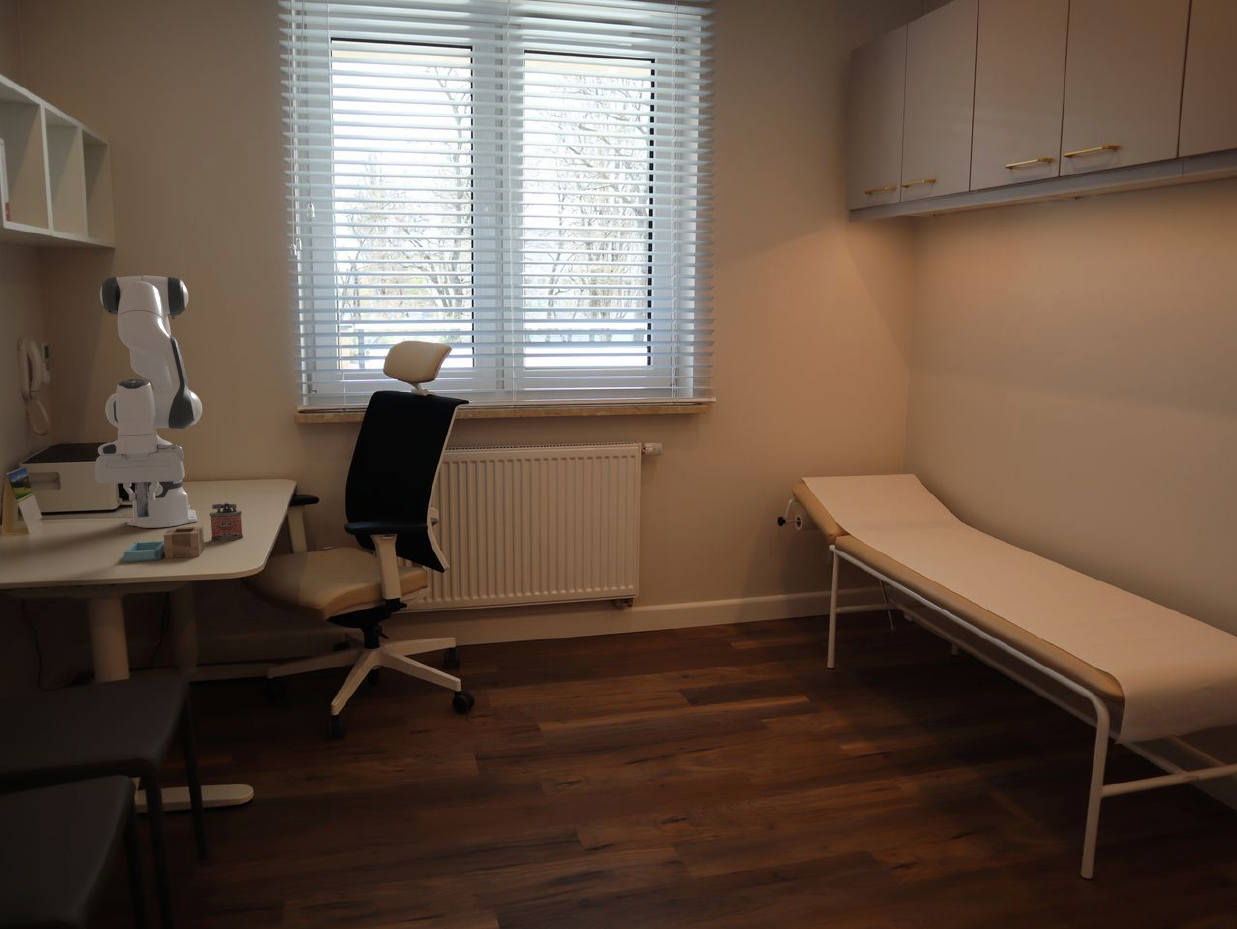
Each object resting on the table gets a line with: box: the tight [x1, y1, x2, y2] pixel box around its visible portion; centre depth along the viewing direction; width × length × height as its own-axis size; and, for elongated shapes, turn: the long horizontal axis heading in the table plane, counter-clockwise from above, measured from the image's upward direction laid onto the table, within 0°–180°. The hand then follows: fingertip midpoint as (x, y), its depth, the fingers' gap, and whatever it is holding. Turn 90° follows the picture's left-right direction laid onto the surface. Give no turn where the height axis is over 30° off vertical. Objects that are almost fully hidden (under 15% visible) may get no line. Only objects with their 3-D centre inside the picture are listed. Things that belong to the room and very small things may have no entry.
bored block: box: [163, 526, 206, 559], centre depth 253 cm, size 8×8×6 cm
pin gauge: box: [134, 482, 150, 517], centre depth 248 cm, size 3×3×11 cm
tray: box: [123, 540, 165, 563], centre depth 251 cm, size 11×8×2 cm
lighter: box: [209, 501, 244, 542], centre depth 269 cm, size 8×3×10 cm, turn 111°
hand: (142, 499), depth 248 cm, fingers closed on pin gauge, 3 cm apart
